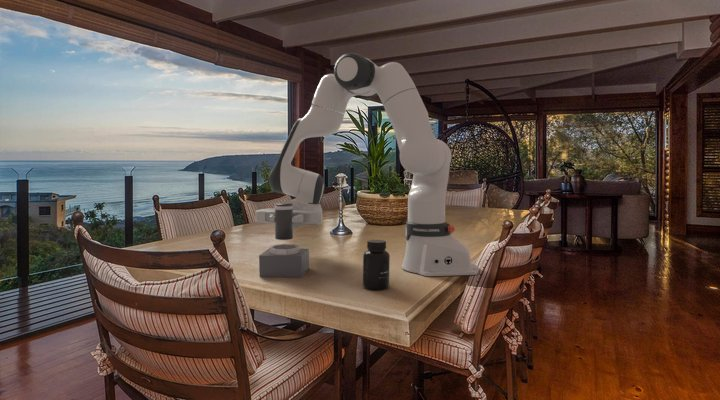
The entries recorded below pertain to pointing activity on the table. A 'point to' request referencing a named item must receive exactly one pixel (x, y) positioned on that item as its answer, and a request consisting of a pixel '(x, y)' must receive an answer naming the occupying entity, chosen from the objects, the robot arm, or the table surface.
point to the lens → (283, 221)
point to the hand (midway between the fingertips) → (283, 219)
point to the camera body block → (284, 261)
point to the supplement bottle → (376, 266)
